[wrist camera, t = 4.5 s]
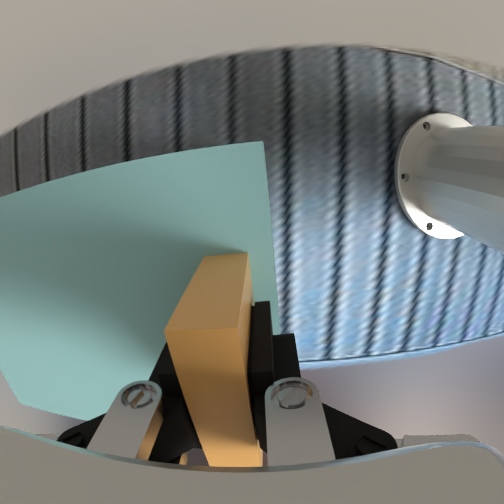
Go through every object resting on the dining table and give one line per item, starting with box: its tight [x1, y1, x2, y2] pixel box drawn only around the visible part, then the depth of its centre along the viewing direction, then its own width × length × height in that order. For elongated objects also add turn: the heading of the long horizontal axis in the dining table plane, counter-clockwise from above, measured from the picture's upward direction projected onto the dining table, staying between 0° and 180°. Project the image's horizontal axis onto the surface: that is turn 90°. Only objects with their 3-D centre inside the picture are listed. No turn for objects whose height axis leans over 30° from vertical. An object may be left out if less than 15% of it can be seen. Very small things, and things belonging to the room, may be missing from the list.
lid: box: [0, 141, 280, 467], centre depth 11 cm, size 19×14×8 cm
